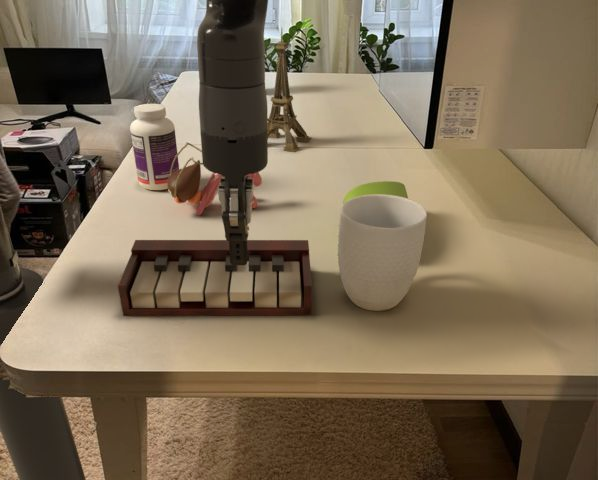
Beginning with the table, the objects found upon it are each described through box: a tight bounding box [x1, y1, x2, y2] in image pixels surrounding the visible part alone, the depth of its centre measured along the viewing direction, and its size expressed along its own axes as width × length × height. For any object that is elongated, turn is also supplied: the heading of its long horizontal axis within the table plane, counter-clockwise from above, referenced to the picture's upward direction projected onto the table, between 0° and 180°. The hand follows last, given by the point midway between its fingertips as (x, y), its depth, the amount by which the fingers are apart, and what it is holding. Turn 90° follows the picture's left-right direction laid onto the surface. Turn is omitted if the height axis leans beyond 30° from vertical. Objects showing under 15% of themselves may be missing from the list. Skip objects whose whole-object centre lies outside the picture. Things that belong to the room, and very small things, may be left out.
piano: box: [117, 239, 313, 317], centre depth 82 cm, size 25×12×5 cm, turn 92°
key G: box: [230, 261, 254, 301], centre depth 81 cm, size 3×8×1 cm, turn 2°
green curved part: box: [341, 180, 409, 206], centre depth 97 cm, size 8×12×20 cm
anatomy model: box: [167, 142, 263, 216], centre depth 105 cm, size 10×14×15 cm
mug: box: [337, 194, 428, 312], centre depth 80 cm, size 15×11×13 cm
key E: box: [180, 261, 209, 301], centre depth 81 cm, size 3×8×1 cm, turn 2°
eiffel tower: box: [267, 28, 312, 153], centre depth 131 cm, size 11×11×25 cm
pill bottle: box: [129, 103, 180, 191], centre depth 112 cm, size 8×8×14 cm
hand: (239, 262), depth 77 cm, fingers closed
